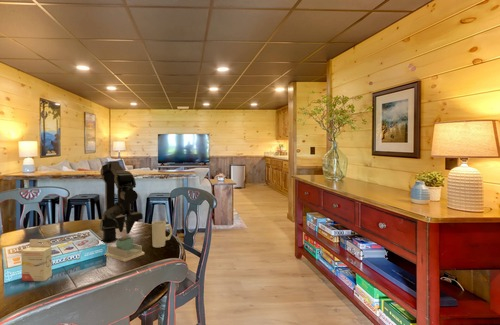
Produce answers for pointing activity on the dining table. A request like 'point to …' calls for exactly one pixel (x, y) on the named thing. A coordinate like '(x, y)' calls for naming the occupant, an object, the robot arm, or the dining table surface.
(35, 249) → the ink cartridge box
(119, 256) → the mount board
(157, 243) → the mug
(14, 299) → the dining table surface
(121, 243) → the block
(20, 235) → the dining table surface
